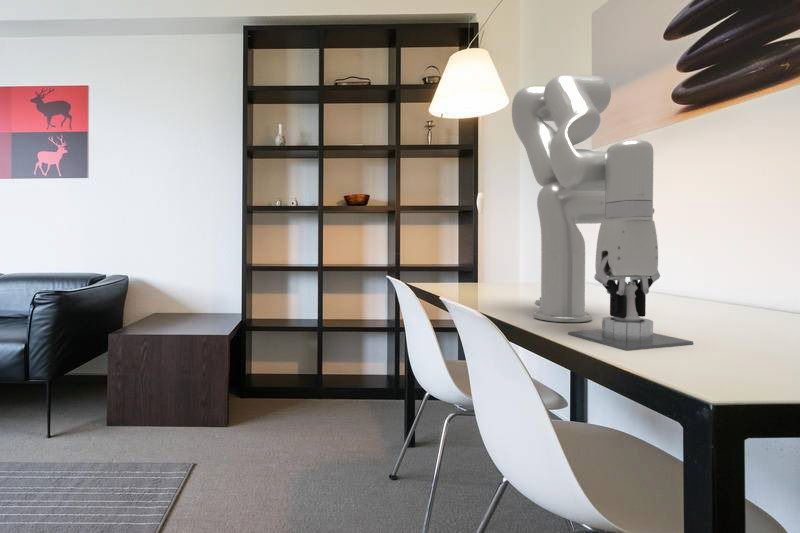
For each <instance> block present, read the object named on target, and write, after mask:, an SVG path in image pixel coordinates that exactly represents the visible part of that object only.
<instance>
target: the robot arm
mask: <svg viewBox="0 0 800 533" xmlns="http://www.w3.org/2000/svg"><path fill="white" fill-rule="evenodd" d="M518 90H519V89H518ZM611 98H612V89H611V85H610V83H609V81H608V80H607V79H606V78H604V77H603V76H601V75H594V74H593V75H592V74H591V75H590V74H571V73H569V74H568V73H567V74H561V75H557V76H555V77H553V78H552V79H550V80H549V81H548V82H547V83H546V84H545V85H541V84H539V85H537V84H535V85H529V86H525V87H523V88H521V89H520V90H519V91H517V92H516V93H515V95H514V97H513V99H512V103H511V118H512V123H513V124H512V126H513V127H514V131H515V133H516V136H518V139H519V140H520V142H521V143H522V145H523V146H524V149H525V152H526V155H527V158H528V161H529V164H530V167H531V170H532V173H533V176H534V178H535V181H536V182H537V184H538V185H539V186H540V187H542V188H541V189H540V191H539V192H538V194H537V198H536V205H537V211H538V212H537V213H538V217H539V224H540V225H539V227H540V234H541V236H540V238H541V239H540V240H541V243H540V244H541V246H540V247H541V249H540V251H541V253H540V254H541V256H540V258H541V260H540V261H541V264H540V269H541V274H540V275H541V276H540V277H541V278H540V287H541V288H540V292H541V293H540V296H539V299H536V300H535V301H534V304H535V306H539V310H537V311H534V313H533V315H534V316H533V317H534V318H535V319H538V320H541V321H547V322H553V323H554V322H557V323H585V322H590V321H592V320H593V315H592V314H591V313H589V312H586V311H585V310H586V309H585V308H586V307H585V306H586V305H585V304H586V300H585V299H586V298H585V297H586V283H585V282H586V241H585V239H584V236H583V234H582V232H581V231H580V229H579V227H578V226H577V225H579V224H584V225H585V224H600V225H599V231H598V234H597V240H596V250H595V265H594V266H595V274H594V276H593V277H594V280H595V281H597V282H598V283H599V284H601V285H602V286H603V287H604V288H605V290H606V293H607V294H608V295H609V316H610V317H611V316H614V317H619V318H626V316H627V297H626V295H623V293H624V287H625V282H626V278H629V282H636V283H635V285H636V286H637V287H638V288H637V290H636V291H635V295H636V297H635V306H636V311H637V313H638V316H639V317H640V318H643V317H644V318H645V316H646V305H647V304H646V303H647V302H646V299H647V298H646V295H648V294H649V291H650V288H651V286H652V285H653V283H655V282H657V280H659V279H660V278H661V274H660V272H659V268H658V267H659V248H658V247H659V244H658V235H657V229H656V223H655V220H653V219H654V218H653V217H654V214H655V208H654V202H653V201H654V147H653V145H652V144H651V142H649V141H645V140H641V139H640V140H639V139H638V140H637V139H636V140H635V139H633V140H626V141H620V142H617V143H614V144H612V145H610V146H609V147H608V148H607V150H606V151H603V150H602V151H601V150H600V151H594V150H591V149H586V148H585V149H583V148H575V145H578V144H579V143H582V142H584V141H586V140H587V139H589V138H590V137H592V136H593V135H594V134H595V133H596V132H597V131H598V129H599V126H600V125H601V115H600V114H602V113H603V112H604V111H605V110H607V108H608V106H609V104H610V101H611ZM546 122H554V125H555V127H556V129H557V130H555V129H554V127H552V126H551V125H549V124H548V123H546Z"/></svg>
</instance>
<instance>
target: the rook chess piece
mask: <svg viewBox="0 0 800 533" xmlns="http://www.w3.org/2000/svg"><path fill="white" fill-rule="evenodd" d="M635 283H636V282H630V281H627V282H626V281H625V287H624V293H623V295H626V297H627V316H626V318H619V317H614V319H615V320H616V321H622V322H639V321H640V320H641V319H640V318H641V317H640V316H638V313H637V311H636V306H635V297H636V295H635V291H636V290H637V288H638V287H637V286H636V285H635Z"/></svg>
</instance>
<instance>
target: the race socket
mask: <svg viewBox="0 0 800 533" xmlns="http://www.w3.org/2000/svg"><path fill="white" fill-rule="evenodd" d="M640 319H641V320H640V321H639V322H622V321H616V320H615V319H614V316H611V315H610V316H604V317H602V320H601V326H602V327H601V328H599V329H588V330H587V329H586V330H576V331H575V330H574V331H571V330H570V331H568V332H567V335H570V336H573V337H577V338H579V339H580V338H581V339H583V340H586V341H587V340H588V341H590V342H594V343H597V344H602V345H606V346H609V347H612V348H616V349H619V350H623V351H636V350H648V349H657V348H667V347H670V348H671V347H678V346H679V347H680V346H689V345H690V346H691V345H694V341H692V340H687V339H684V338H678V337H673V336H670V335H664V334H660V333H656V332H654V321H653V320H651V319H650V318H645V317H644V318H643V317H640Z"/></svg>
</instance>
